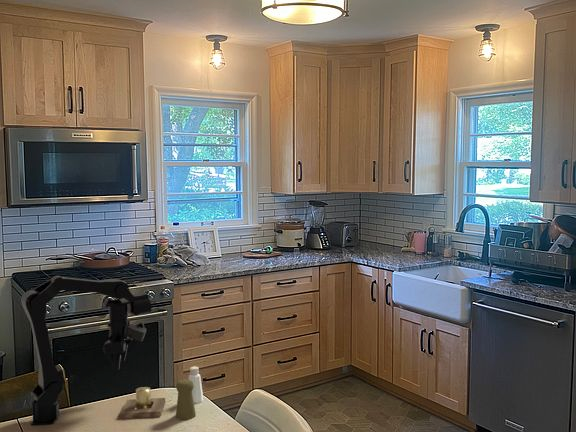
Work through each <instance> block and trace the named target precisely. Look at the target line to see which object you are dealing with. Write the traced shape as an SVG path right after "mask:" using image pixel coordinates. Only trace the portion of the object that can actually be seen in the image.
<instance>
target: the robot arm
mask: <svg viewBox="0 0 576 432" xmlns="http://www.w3.org/2000/svg"><path fill="white" fill-rule="evenodd" d="M61 291H69V292H70V291H71V292H72V291H73V292H80V293H81V292H82V293H83V292H84V293H90V294H91V293H92V294H100V295H103V296H107V298H106V299H105V300H104V301H103V302H102V303H101V305H102V306H103V307H106V308H108V320H109V322H108V323H107V327H109V334H108V337H107V338H108V340H107V341H106V342H105V343H104V345H102V352H103V353H104V354H105V355H106V356H107V358H108V360H109V361H110V363H111V366H112V367H113V369H114V371H116V372H117V371H119V370H120V365H121V362H123V363H124V362H125V361H126V356H127V351H128V348H129V347H128V346H129V344H131V342H132V341H133V340H135V341H138V342H143V341H144V338H145V335H146V333H147V328H146V327H145V323H144V322H138V323H137V324H131V320H130V319H129V317H128V316H129V315H128V314H130V315H131V317H137V316H144V315H149V314H151V313H152V307H153V306H152V304H151V303H152V302H151V300H150V298H149V294H148V293H142V294H136V295H135V294H132V292H131V291H130V287H129V284H128V283H127V282H126V281H123V280H121V279H120V278H119V279H118V278H108V279H102V280H101V279H99V280H95V279H86V278H76V277H67V276H66V277H65V276H60V275H55V276H52V277H51V278H50V279H48V281H46V282H44V283H42V284H40V285H38V286H37V287H35V288H34V289H31V290H30V289H29V290H28V291H27V290H26V292H25V293H23V294H22V296H21V298H20V300H21V301H20V302H21V306H22V307H23V310H24V312H25V314H26V316H27V318H28V321H29V322H30V326H31V327H30V328H31V332H32V336H33V341H34V347H35V352H36V356H37V360H38V365H39V367H38V368H39V369H38V373H37V374H38V377H37V378H38V379H37V380H38V381H37V382H38V383H37V384H36V386H35V387H34V388H33V389H32V390H31V392H30V394H31V396H32V398H33V399H34V400H33V401H32V404H31V407H32V409H31V410H32V420H31V422H30V425H31V426H36V425H37V426H39V425H40V426H41V425H53V424H55V422H56V421H57V419H58V418H59V416H60V403H59V402H58V397H59V395H60V394H61V393H62V392H63V390H64V387H65V385H64V384H66V381H65V378H64V371H63V369H62V368H61V367H60V366H59V365H58V364H57V365H55V361H54V356H53V352H52V345H51V342H50V337H49V333H48V327H47V322H46V319H47V304H48V303H50V302H51V301H52V300H54V298H55V297H56V296H57V295H58V294H59V293H60V292H61ZM109 297H110V298H114V299H110V298H109ZM123 299H124V300H123ZM122 300H123V301H122Z"/></svg>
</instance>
